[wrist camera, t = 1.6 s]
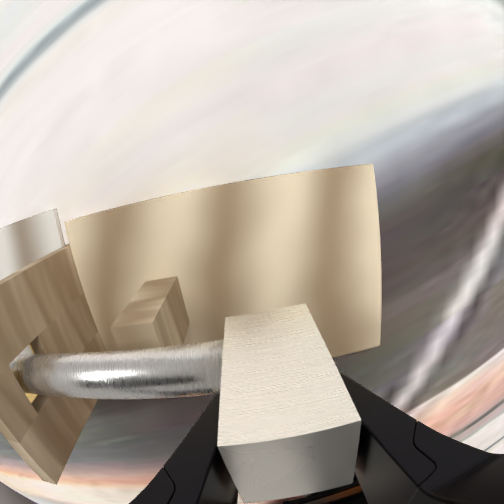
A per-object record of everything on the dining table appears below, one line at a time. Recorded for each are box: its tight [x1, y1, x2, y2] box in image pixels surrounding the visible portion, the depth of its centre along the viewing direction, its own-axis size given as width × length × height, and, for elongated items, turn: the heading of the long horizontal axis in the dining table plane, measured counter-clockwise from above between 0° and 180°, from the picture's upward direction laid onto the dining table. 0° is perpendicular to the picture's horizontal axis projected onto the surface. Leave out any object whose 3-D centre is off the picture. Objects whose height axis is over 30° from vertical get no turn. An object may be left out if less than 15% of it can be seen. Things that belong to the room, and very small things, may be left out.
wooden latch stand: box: [0, 164, 381, 485], centre depth 13 cm, size 29×14×12 cm, turn 100°
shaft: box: [9, 304, 361, 503], centre depth 8 cm, size 21×3×6 cm, turn 100°
